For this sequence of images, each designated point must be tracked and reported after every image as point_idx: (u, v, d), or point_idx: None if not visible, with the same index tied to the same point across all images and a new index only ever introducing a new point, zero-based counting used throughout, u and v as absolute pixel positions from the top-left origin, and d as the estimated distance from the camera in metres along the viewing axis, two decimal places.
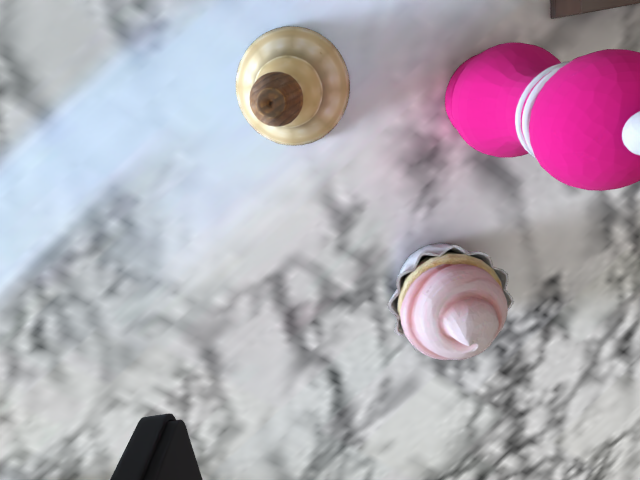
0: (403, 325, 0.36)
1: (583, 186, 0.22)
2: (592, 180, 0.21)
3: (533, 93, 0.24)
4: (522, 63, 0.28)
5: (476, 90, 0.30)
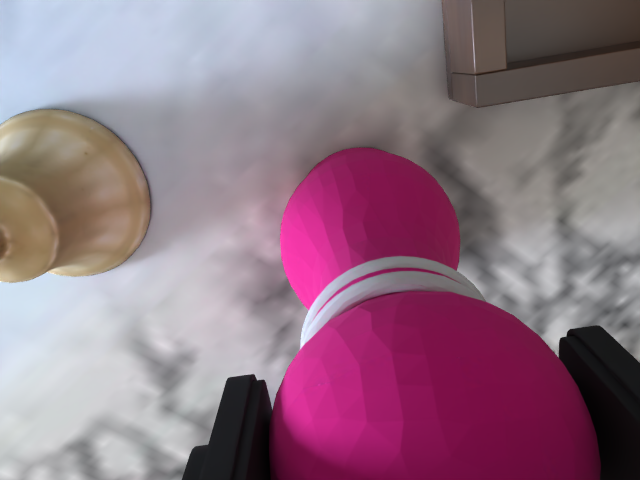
0: None
1: None
2: None
3: (312, 330, 0.12)
4: (357, 210, 0.16)
5: (294, 241, 0.18)
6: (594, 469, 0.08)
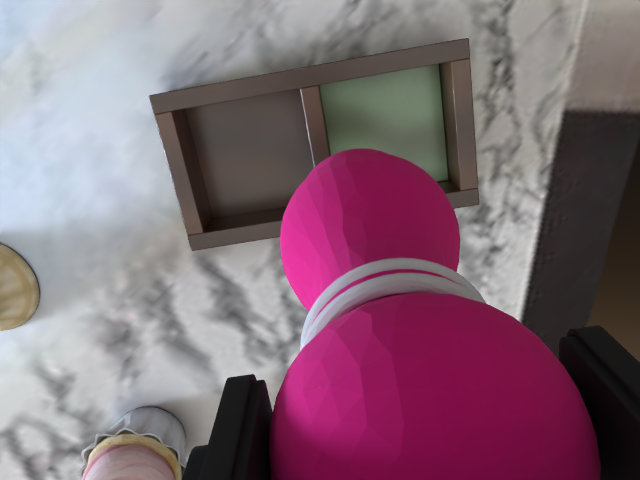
0: None
1: None
2: None
3: (312, 332, 0.12)
4: (357, 211, 0.16)
5: (294, 242, 0.18)
6: (594, 471, 0.08)
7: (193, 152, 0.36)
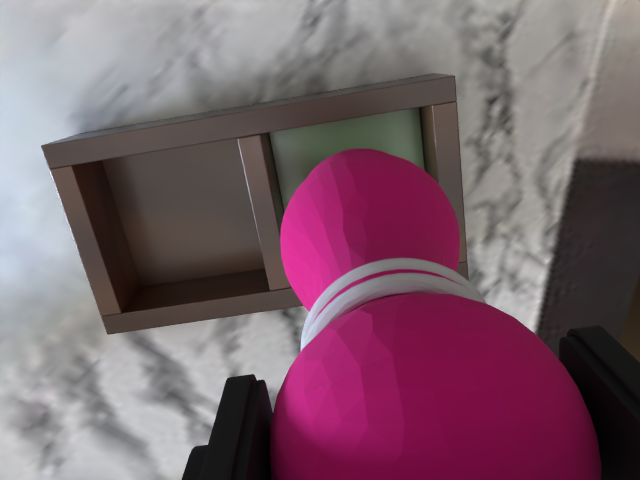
0: None
1: None
2: None
3: (312, 332, 0.12)
4: (357, 211, 0.16)
5: (294, 242, 0.18)
6: (595, 471, 0.08)
7: (110, 210, 0.29)
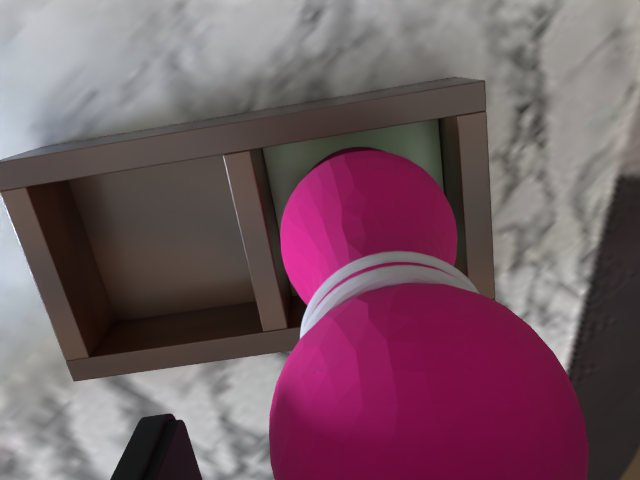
0: None
1: None
2: None
3: (311, 323, 0.12)
4: (356, 207, 0.17)
5: (294, 238, 0.18)
6: (581, 452, 0.08)
7: (78, 236, 0.25)
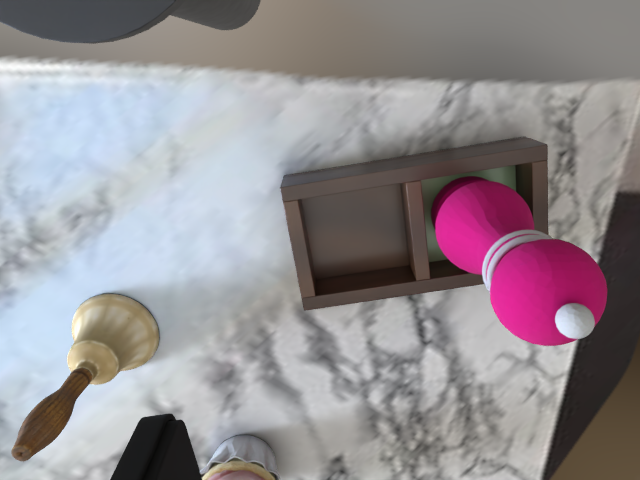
0: None
1: (530, 342, 0.28)
2: (536, 342, 0.27)
3: (495, 258, 0.30)
4: (491, 211, 0.35)
5: (454, 226, 0.36)
6: (605, 288, 0.26)
7: (305, 227, 0.43)
